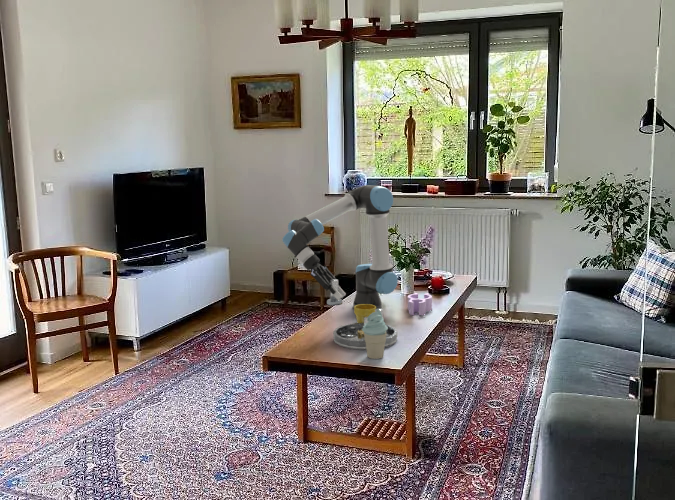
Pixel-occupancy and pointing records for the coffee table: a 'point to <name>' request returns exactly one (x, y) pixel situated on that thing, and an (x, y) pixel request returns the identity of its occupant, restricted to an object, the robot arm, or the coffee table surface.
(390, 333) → the grey round tray
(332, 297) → the grey round-based stand
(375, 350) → the ice cream cone
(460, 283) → the coffee table surface
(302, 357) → the coffee table surface
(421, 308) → the clip
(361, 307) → the plant pot
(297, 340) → the coffee table surface
